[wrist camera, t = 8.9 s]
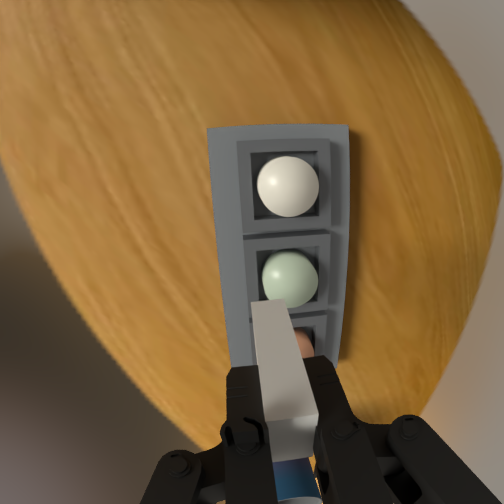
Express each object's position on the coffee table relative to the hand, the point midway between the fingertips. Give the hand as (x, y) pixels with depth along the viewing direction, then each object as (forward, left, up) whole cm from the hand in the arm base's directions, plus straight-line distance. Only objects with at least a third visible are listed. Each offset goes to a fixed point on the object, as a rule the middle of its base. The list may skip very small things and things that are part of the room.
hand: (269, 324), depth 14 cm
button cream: (-5, +3, -13) cm, 14 cm away
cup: (+26, +2, -15) cm, 31 cm away
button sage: (+3, +3, -13) cm, 14 cm away
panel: (+3, +3, -15) cm, 16 cm away
